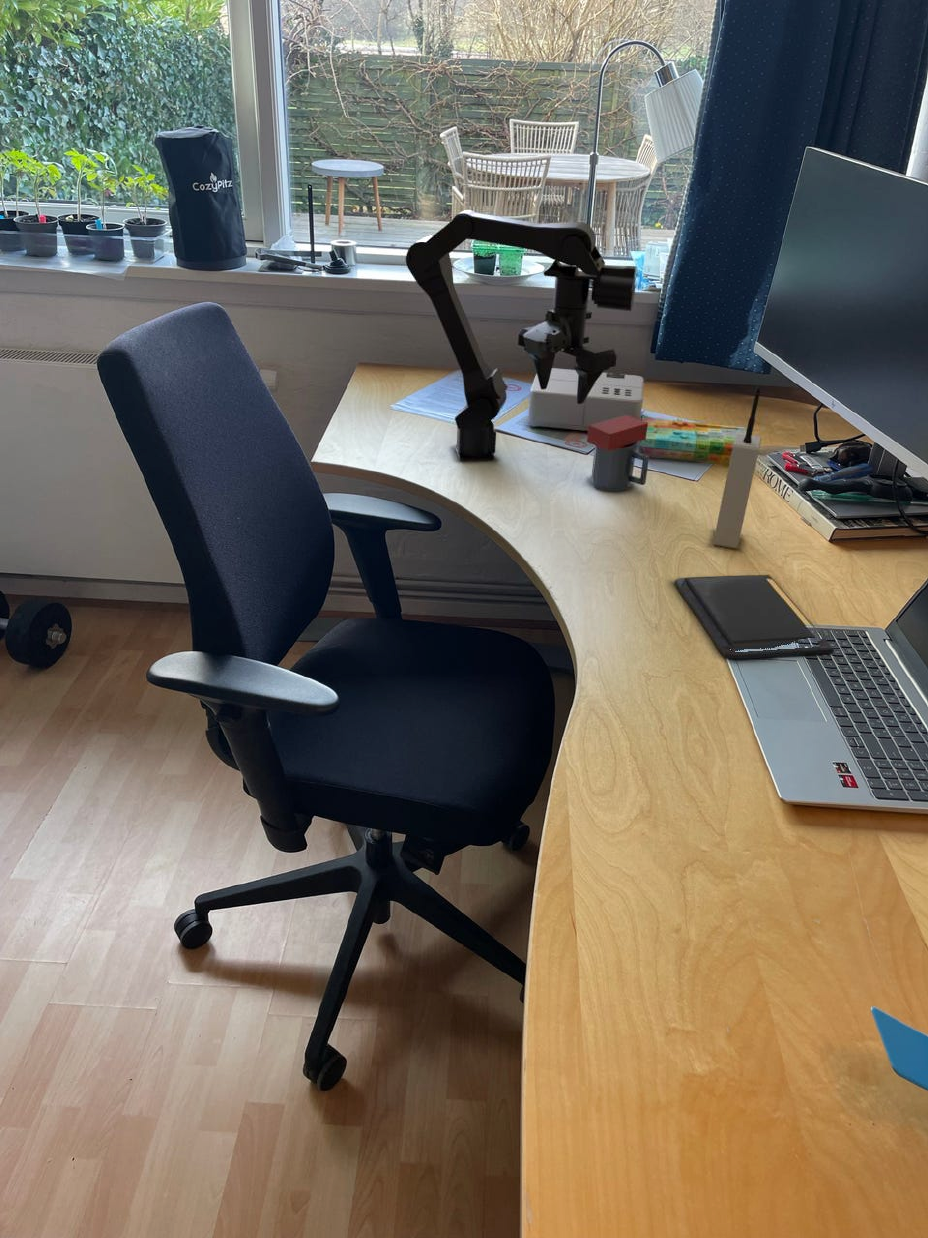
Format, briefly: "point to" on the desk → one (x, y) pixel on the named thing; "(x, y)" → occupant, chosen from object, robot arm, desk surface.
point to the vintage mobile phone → (738, 484)
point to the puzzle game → (689, 440)
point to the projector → (601, 404)
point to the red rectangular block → (617, 432)
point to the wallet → (748, 615)
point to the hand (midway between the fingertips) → (561, 396)
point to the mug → (617, 468)
